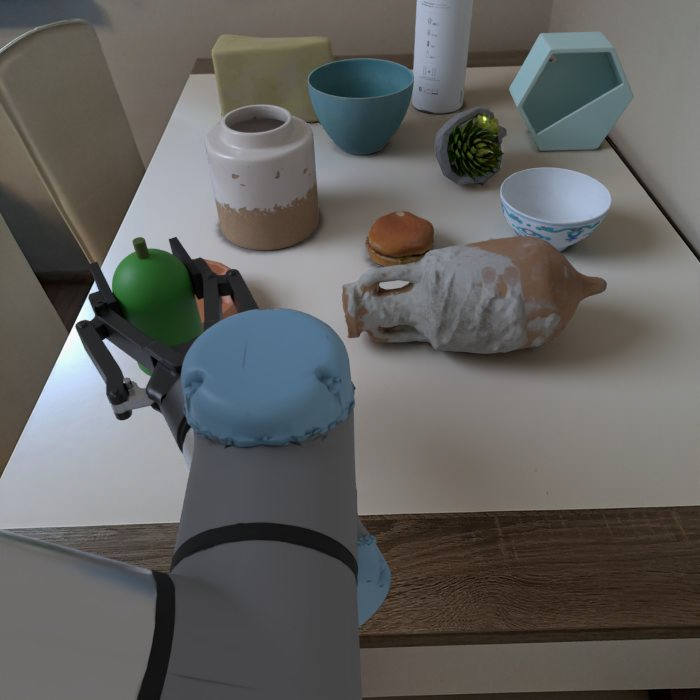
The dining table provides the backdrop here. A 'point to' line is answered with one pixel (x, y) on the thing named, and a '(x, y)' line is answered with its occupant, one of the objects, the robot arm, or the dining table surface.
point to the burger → (399, 239)
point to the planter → (571, 90)
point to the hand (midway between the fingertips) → (137, 262)
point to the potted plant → (470, 146)
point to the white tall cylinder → (441, 54)
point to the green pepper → (157, 296)
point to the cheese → (268, 71)
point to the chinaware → (554, 204)
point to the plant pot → (361, 101)
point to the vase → (263, 177)
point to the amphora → (472, 297)
